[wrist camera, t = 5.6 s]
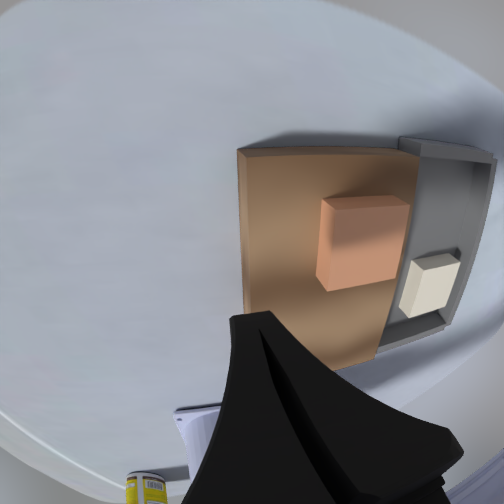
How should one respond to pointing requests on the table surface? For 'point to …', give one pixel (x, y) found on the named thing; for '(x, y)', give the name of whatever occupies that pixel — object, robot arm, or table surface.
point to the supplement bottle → (145, 489)
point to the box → (441, 227)
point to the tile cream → (428, 284)
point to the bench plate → (315, 242)
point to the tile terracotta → (360, 240)
